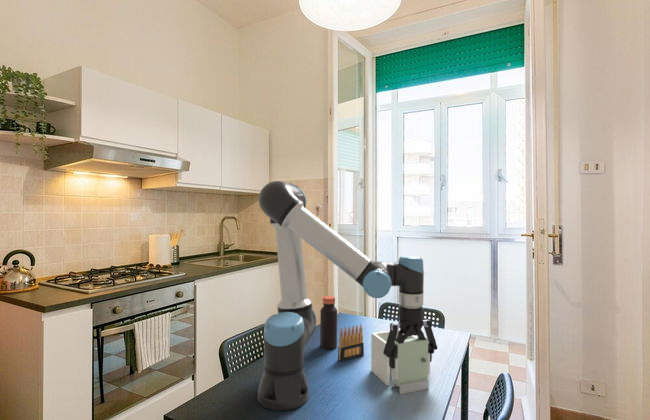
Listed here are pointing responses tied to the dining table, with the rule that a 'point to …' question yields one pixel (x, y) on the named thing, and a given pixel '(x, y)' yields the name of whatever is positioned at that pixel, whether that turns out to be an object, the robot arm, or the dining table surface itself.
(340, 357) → the ammunition clip
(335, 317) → the vinegar
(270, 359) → the robot arm
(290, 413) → the dining table surface
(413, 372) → the door
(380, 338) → the cabinet
